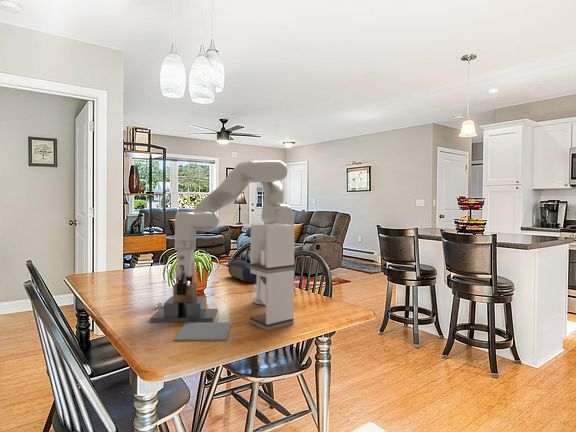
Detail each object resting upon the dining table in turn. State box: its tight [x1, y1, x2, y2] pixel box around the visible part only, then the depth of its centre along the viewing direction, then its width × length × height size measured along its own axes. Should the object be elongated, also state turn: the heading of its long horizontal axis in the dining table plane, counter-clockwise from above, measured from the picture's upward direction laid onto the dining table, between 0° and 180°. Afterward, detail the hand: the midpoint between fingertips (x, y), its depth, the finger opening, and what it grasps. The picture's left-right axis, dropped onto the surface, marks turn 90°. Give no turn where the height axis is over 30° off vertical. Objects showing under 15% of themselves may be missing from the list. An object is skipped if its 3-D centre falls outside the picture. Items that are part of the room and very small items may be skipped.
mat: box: [173, 321, 233, 342], centre depth 124 cm, size 16×16×1 cm
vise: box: [149, 280, 219, 323], centre depth 139 cm, size 22×12×14 cm, turn 92°
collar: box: [172, 281, 198, 302], centre depth 139 cm, size 7×7×6 cm
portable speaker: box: [228, 259, 257, 284], centre depth 207 cm, size 25×10×10 cm, turn 35°
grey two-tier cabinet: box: [249, 223, 296, 331], centre depth 133 cm, size 11×11×35 cm
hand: (184, 291), depth 139 cm, fingers open, 9 cm apart
